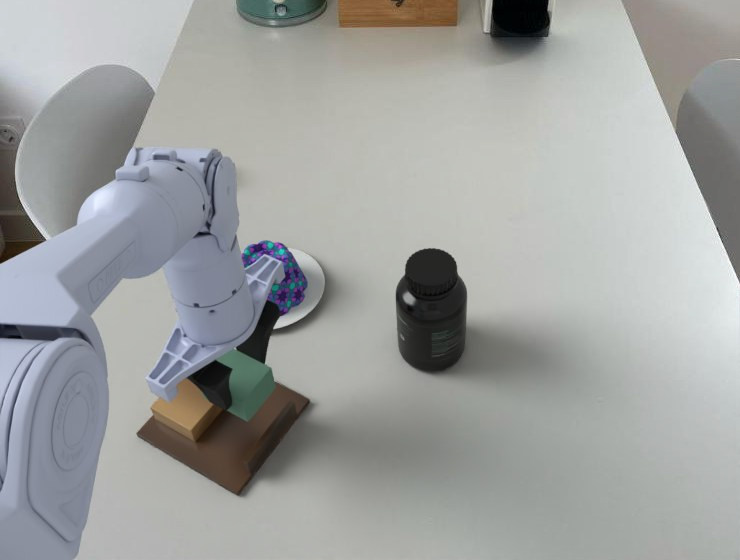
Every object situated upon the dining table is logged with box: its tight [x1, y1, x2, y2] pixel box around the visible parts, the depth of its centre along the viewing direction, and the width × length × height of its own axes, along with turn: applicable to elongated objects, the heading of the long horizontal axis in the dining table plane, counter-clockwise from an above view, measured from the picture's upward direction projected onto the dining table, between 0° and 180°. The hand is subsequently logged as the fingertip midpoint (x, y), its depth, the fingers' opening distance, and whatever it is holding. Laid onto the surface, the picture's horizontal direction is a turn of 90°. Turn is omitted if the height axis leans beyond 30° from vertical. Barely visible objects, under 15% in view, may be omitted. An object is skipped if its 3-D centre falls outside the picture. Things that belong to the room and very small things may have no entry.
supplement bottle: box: [395, 247, 468, 373], centre depth 78 cm, size 7×7×12 cm
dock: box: [135, 378, 311, 497], centre depth 76 cm, size 11×12×3 cm
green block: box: [201, 348, 276, 422], centre depth 70 cm, size 4×5×3 cm
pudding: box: [241, 239, 326, 330], centre depth 87 cm, size 12×12×5 cm
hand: (237, 383), depth 71 cm, fingers closed on green block, 4 cm apart
